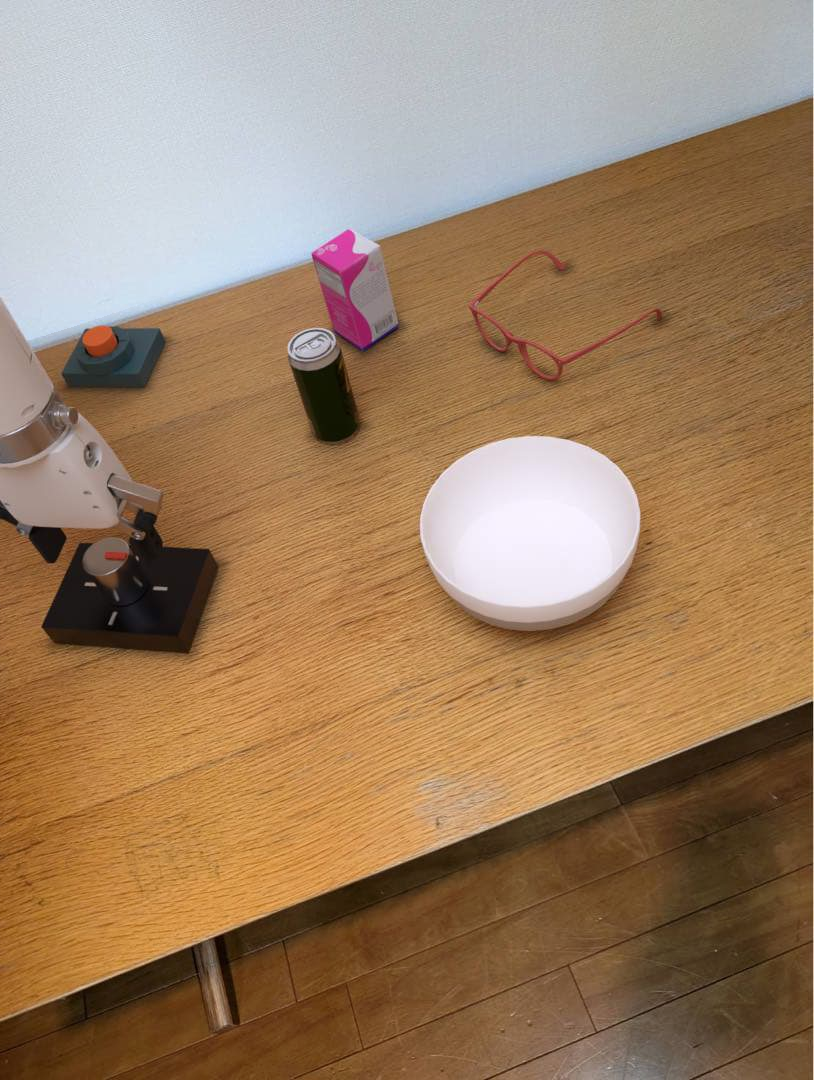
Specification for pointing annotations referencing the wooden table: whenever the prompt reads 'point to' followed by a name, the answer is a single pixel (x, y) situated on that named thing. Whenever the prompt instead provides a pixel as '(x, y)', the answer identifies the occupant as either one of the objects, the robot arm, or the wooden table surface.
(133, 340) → the button block
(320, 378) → the beer can
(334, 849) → the wooden table surface
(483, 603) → the bowl
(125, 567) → the dark cylinder with disc
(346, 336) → the supplement box
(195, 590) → the knob panel
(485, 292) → the red eyeglasses
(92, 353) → the button
